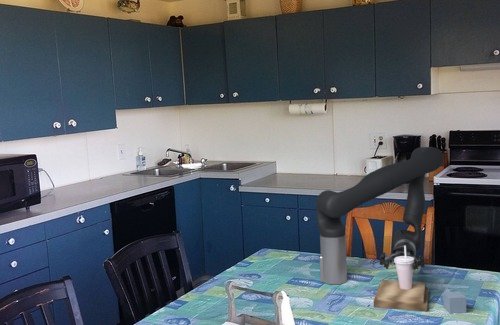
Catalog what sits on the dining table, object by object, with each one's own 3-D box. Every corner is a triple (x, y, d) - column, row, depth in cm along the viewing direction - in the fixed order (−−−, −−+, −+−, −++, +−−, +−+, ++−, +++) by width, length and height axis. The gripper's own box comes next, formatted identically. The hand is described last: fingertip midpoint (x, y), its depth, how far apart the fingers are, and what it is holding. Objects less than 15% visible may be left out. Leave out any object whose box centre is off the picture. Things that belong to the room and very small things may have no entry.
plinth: (373, 307, 166) (373, 294, 165) (379, 289, 181) (379, 278, 180) (426, 311, 160) (426, 298, 160) (428, 293, 175) (428, 281, 175)
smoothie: (417, 290, 166) (414, 248, 165) (396, 291, 168) (393, 248, 166) (414, 284, 172) (412, 242, 171) (394, 284, 174) (392, 243, 172)
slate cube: (449, 314, 158) (449, 298, 157) (443, 307, 163) (443, 292, 162) (466, 313, 158) (466, 297, 157) (459, 306, 163) (459, 291, 162)
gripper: (383, 240, 184) (377, 254, 169) (425, 242, 179) (423, 256, 164) (383, 261, 185) (378, 276, 170) (425, 263, 180) (424, 279, 165)
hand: (400, 266), depth 167 cm, fingers open, 8 cm apart
